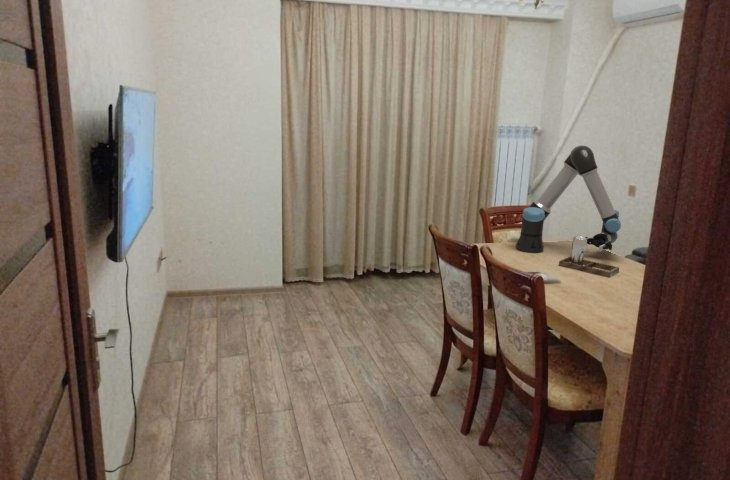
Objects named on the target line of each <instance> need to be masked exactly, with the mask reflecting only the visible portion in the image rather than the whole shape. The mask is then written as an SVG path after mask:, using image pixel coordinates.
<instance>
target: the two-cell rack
mask: <svg viewBox="0 0 730 480" xmlns="http://www.w3.org/2000/svg"><path fill="white" fill-rule="evenodd" d="M571 261H572V256H568V257H565V258H564V259H560V260H559V262H558V266H559V267H562V268H563V267H564V268H568V269H571V270H575V271H580V272H583V273H588V274H592V275H597V276H601V277H605V278H606V277H607V278H610V277H613V276H614V275H617V274H618V273H619V272H620V267H619V266H615V265H610V264H606V263H602V262H601V263H600V262H596V261H593V260H592V261H591V260H587V259H584V258H583V266H582V265H577V264H573V263H571Z"/></svg>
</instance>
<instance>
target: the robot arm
mask: <svg viewBox="0 0 730 480" xmlns="http://www.w3.org/2000/svg"><path fill="white" fill-rule="evenodd" d="M598 169H599V167H598V165H597V162H596V159H595V155H594V152H593V150H592V149H591V148H590V147H589V146H587V145H578V146H576V147H574V148H573V149H572V150H571V151H570V154H569V155H568V156H567V157H566V159H565V160H564V161H563V167H562V169H561V170H560V171H559V172H558V174H556V176H555V178H554V179H553V180H552V181H551V183H550V184H549V185H548V186H547V187H546V189H544V191H543V193H542V194H541V195H540V197H539V198H538V199H537V200H533V201H532V203H531V204H530V205H529V206H528V207H526V208H524V209H523V211H522V214H521V216H522V218H521V226H520V235H519V238H518V240H517V242H516V244H515V249H516V250H517V251H520V252H524V253H525V252H526V253H533V254H536V253H543V252H544V249H545V247H544V246H545V245H544V241H543V230H544V222H545V220H547V218H548V217H549V215H550V214H551V209H552V207H553V206H554V204H556V202H557V201H558V200H559V198H561V196H562V195H563V193H564V192H565V191H566V189H567V188H568V187H569V186H570V184H571V183H572V182H573V181H574V179H575V178H576V177H577V176H578V175H579V176H580V177H582V178H583V181H584V183H585V186H586V187H587V190H588V192H589V195H590V196H591V198H592V200H593V201H592V202H594V205H595V208H596V210H597V212H598V213H599V216H600V218H601V221H602V227H601V232H600V233H596V234H594V235H593V237H588V236H584V237H585V238H587V245H591V246H594V247H596V248H597V249H598V252H602V251H604V250H605V251H606V250H609V251H612V249H613V243H615V242H616V241H617V239H618V237H619V236H618V233H617V232H618V231H620V230H621V227H622V223H621V220H620V219H619V217H620V212H619V210H617V209H615V208H614V205H613V204H612V203H613V202H612V201H611V199H610V197H609V195H608V193H607V190H606V188H605V185H604V184H603V181H602V179H601V177H600V175H599V173H598Z"/></svg>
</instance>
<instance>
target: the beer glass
mask: <svg viewBox="0 0 730 480" xmlns="http://www.w3.org/2000/svg"><path fill="white" fill-rule="evenodd" d="M585 237H586V236H581V235H580V236H578V235H577V236H573V237H572V244H571V257H572V261H571V262H570V263H573V264H577V265H582V266H584V265H583V259H584V257H585V254H586V252H587V246H588V244H587V238H585Z"/></svg>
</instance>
